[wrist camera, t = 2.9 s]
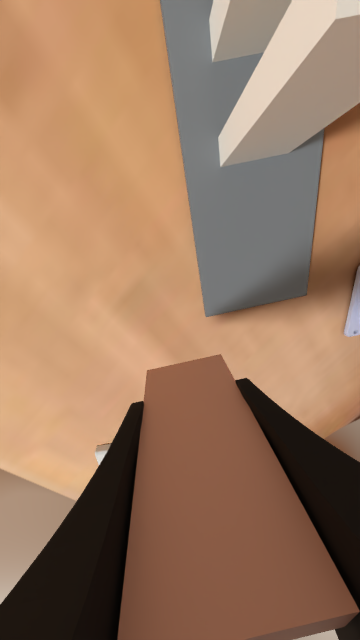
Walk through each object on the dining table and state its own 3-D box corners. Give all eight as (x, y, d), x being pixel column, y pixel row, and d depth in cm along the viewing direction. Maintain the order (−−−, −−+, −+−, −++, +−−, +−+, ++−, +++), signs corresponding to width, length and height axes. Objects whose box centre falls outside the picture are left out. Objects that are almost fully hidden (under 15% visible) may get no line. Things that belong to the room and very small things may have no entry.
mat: (419, -881, 5) (442, -980, 4) (303, 294, 18) (306, 295, 17) (39, -839, 4) (27, -938, 4) (205, 315, 17) (206, 316, 17)
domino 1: (290, 122, 12) (576, -146, 4) (288, 153, 13) (529, -19, 4) (218, 137, 12) (347, -103, 4) (220, 167, 13) (335, 19, 4)
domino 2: (220, 354, 12) (360, 611, 4) (222, 372, 12) (344, 626, 4) (147, 370, 12) (113, 671, 3) (153, 388, 12) (137, 677, 4)
